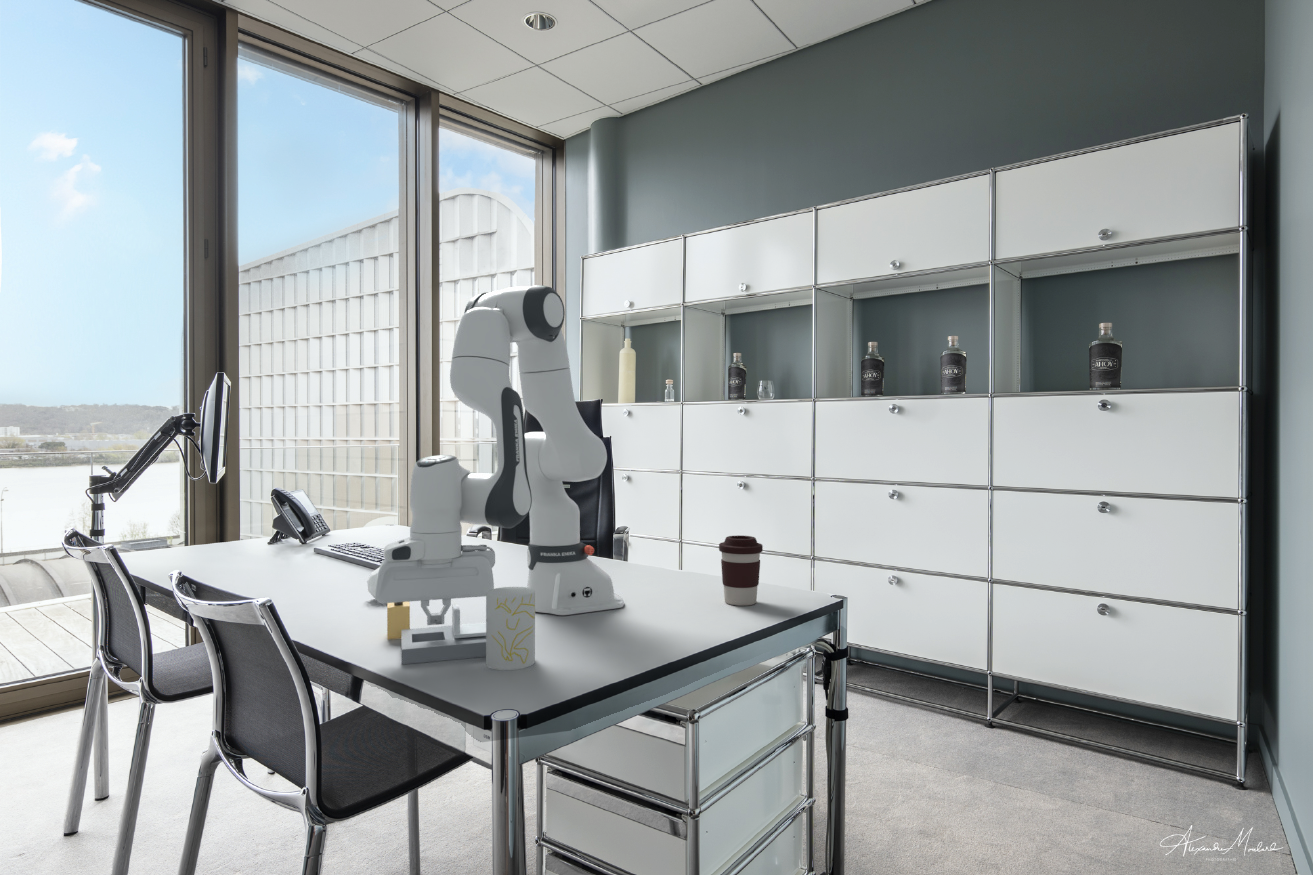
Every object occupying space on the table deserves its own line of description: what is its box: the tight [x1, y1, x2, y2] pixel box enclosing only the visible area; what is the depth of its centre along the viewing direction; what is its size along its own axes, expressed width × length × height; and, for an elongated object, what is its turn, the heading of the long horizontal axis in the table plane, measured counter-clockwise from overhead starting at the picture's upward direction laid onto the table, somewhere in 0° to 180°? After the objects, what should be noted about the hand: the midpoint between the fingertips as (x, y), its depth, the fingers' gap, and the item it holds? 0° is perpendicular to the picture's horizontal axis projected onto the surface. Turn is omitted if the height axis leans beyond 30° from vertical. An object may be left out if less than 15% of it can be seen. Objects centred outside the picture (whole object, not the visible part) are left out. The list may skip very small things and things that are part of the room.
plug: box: [386, 602, 411, 641], centre depth 141 cm, size 4×4×8 cm
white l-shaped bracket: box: [451, 603, 486, 638], centre depth 134 cm, size 7×6×5 cm
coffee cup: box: [718, 535, 764, 607], centre depth 169 cm, size 10×10×15 cm
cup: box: [485, 586, 536, 671], centre depth 125 cm, size 8×8×12 cm
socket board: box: [400, 625, 486, 665], centre depth 133 cm, size 13×15×2 cm
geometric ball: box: [366, 567, 379, 599], centre depth 171 cm, size 8×8×8 cm
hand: (435, 624), depth 132 cm, fingers closed
